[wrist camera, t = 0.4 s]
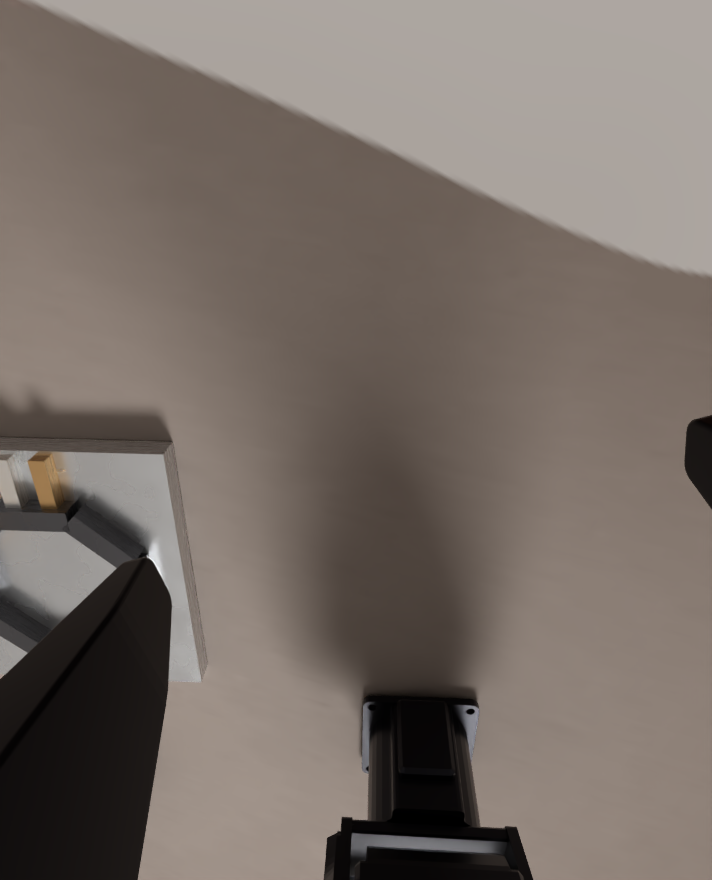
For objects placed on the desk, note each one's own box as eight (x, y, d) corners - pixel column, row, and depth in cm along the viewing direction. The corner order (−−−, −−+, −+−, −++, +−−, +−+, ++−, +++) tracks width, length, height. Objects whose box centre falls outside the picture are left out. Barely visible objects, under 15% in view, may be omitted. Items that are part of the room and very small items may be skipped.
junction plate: (207, 664, 32) (195, 698, 30) (-3, 656, 32) (-28, 689, 30) (172, 441, 25) (154, 466, 23) (-90, 434, 26) (-129, 458, 24)
